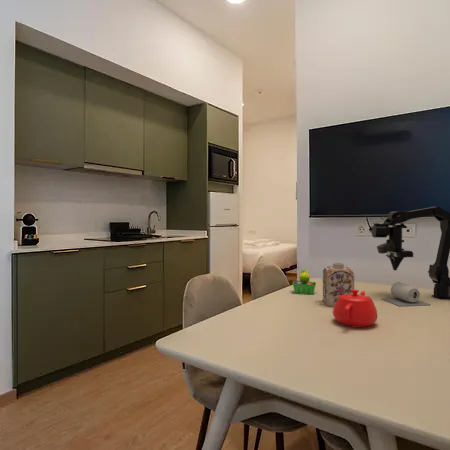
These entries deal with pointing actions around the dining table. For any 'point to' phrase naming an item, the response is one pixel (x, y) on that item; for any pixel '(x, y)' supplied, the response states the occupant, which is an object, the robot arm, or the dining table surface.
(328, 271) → the decorative jar
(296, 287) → the fruit basket
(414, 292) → the can
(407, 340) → the dining table surface
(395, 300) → the mat
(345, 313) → the teapot
